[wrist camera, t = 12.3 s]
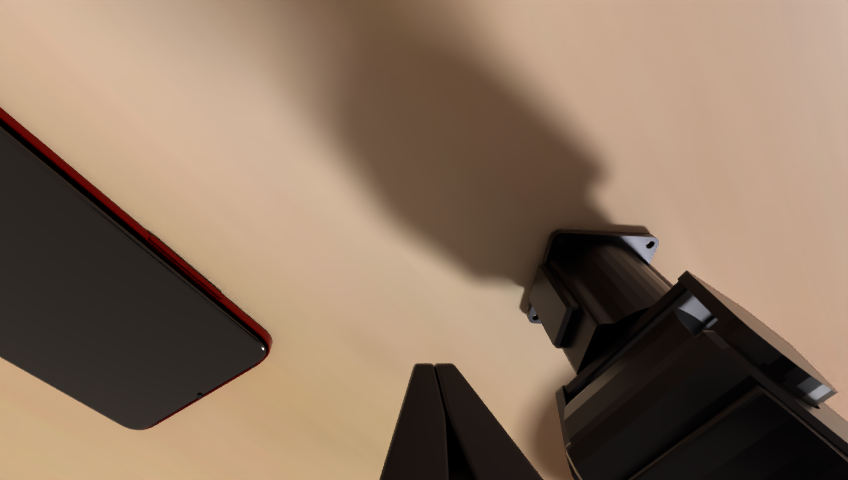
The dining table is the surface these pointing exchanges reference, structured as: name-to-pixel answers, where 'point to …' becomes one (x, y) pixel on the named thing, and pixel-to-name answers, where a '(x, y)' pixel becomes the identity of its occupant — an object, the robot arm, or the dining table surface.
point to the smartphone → (106, 297)
